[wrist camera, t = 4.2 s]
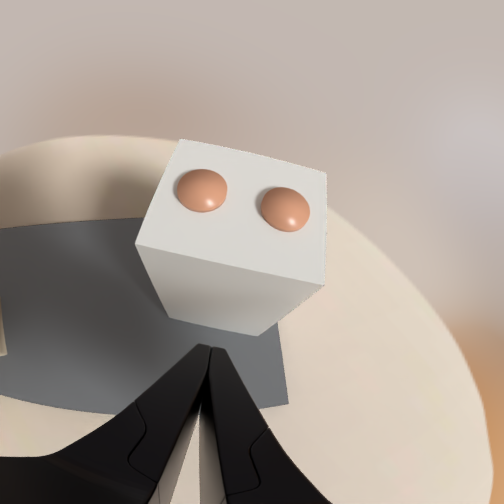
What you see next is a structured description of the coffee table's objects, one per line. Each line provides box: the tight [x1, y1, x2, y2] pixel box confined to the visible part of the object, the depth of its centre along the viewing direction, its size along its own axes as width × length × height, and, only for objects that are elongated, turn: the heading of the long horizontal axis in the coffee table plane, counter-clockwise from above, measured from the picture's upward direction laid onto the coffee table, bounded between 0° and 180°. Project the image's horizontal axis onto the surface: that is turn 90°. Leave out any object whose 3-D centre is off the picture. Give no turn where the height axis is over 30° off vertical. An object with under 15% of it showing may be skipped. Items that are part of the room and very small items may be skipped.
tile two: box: [135, 139, 327, 336], centre depth 12 cm, size 4×5×9 cm
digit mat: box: [0, 218, 289, 415], centre depth 14 cm, size 26×12×1 cm, turn 97°
